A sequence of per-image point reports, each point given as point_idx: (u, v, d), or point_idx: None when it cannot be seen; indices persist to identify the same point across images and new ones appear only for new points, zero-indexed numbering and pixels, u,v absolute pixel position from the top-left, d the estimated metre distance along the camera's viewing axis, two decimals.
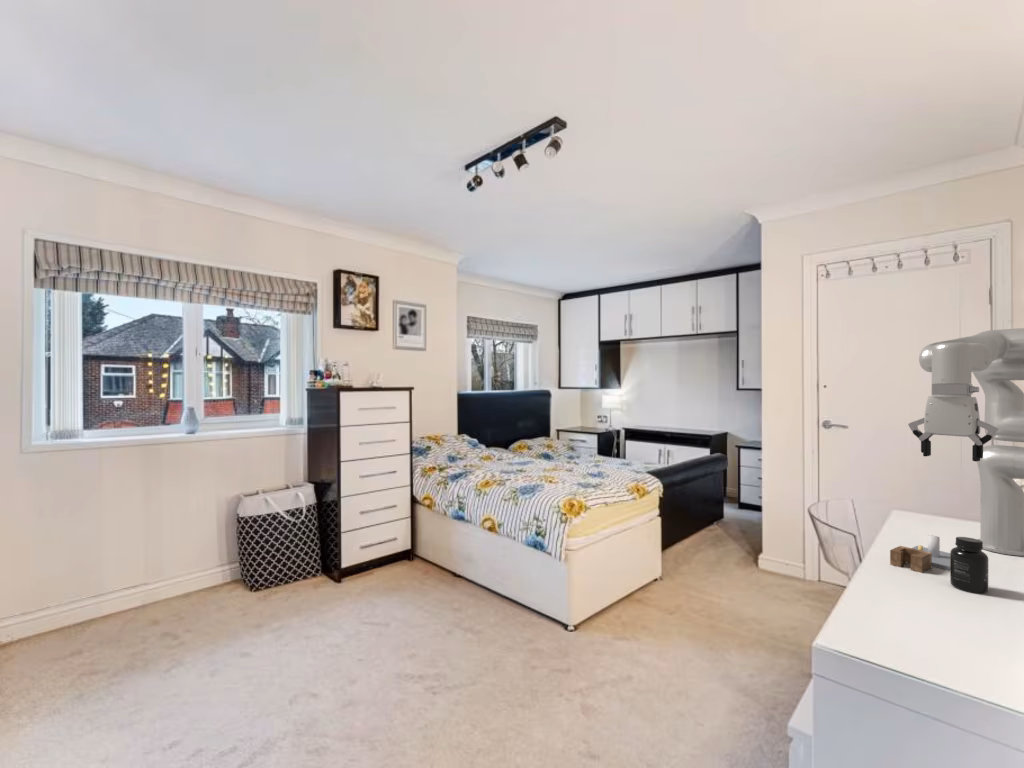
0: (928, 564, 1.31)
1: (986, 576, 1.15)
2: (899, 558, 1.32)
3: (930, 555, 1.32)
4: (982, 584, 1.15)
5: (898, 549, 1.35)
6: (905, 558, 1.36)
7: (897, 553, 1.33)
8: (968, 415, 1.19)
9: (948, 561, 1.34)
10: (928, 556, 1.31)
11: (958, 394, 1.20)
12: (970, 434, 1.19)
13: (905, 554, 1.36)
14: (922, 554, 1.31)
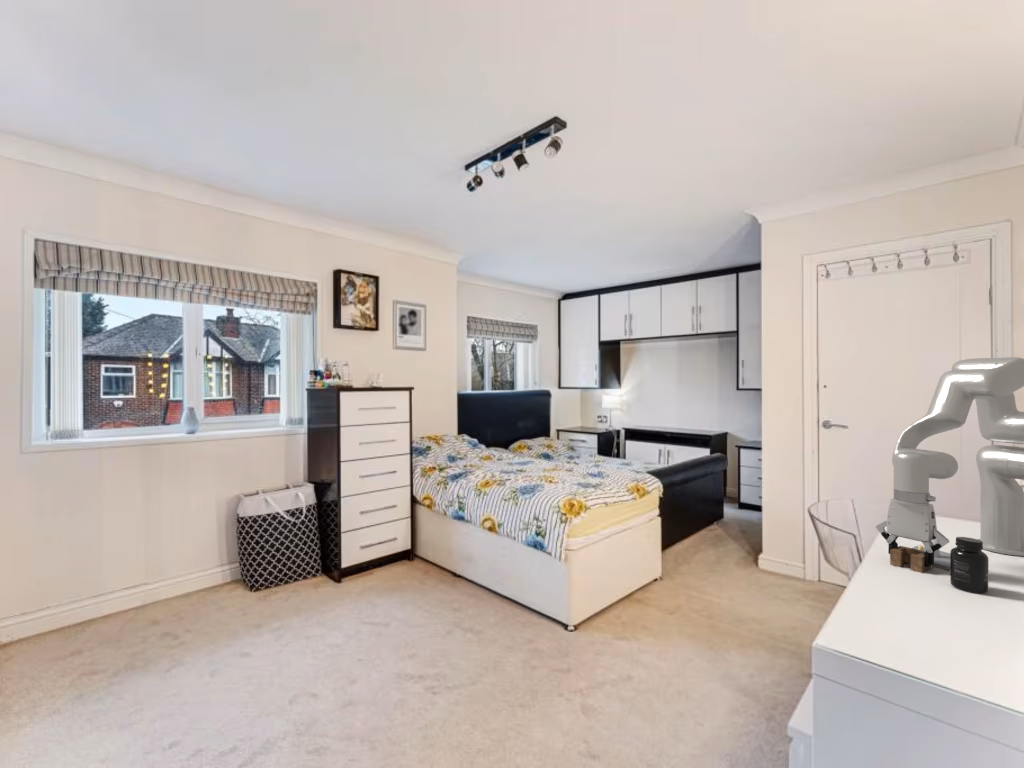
0: None
1: (986, 576, 1.15)
2: (899, 558, 1.32)
3: None
4: (982, 584, 1.15)
5: (898, 549, 1.35)
6: (905, 558, 1.36)
7: (897, 553, 1.33)
8: (925, 523, 1.29)
9: (948, 561, 1.34)
10: None
11: (916, 502, 1.30)
12: (927, 540, 1.29)
13: (905, 554, 1.36)
14: (922, 554, 1.31)
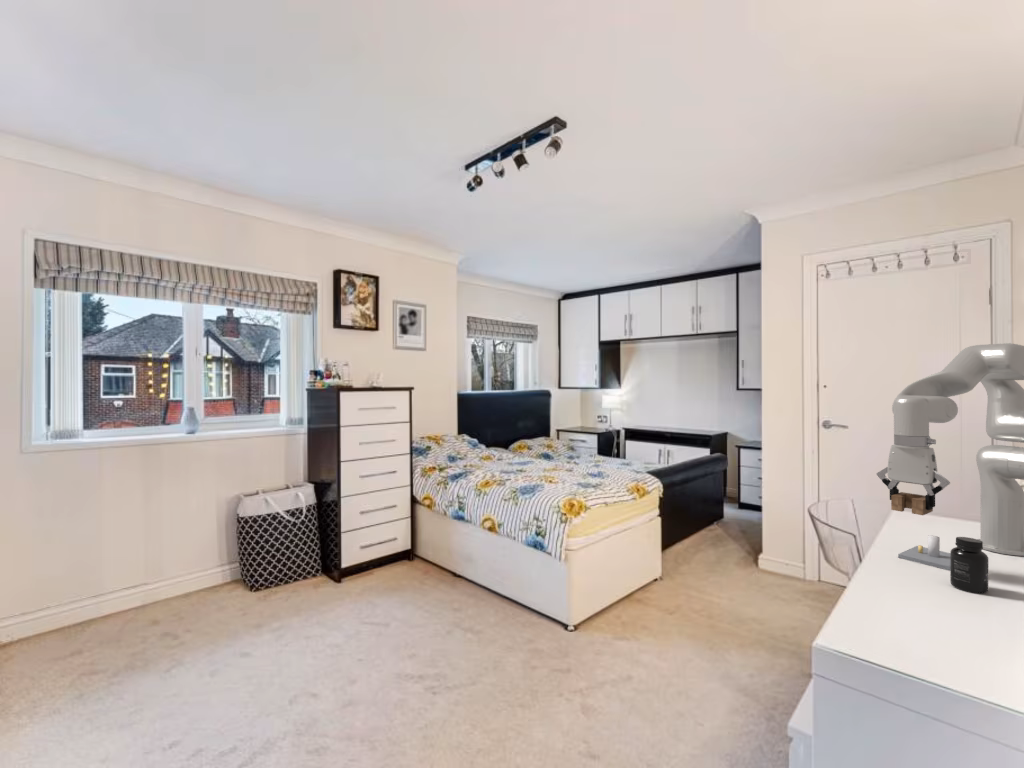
0: None
1: (986, 576, 1.15)
2: (900, 503, 1.33)
3: None
4: (982, 584, 1.15)
5: (899, 494, 1.35)
6: (906, 504, 1.36)
7: (898, 498, 1.33)
8: (926, 465, 1.29)
9: (948, 561, 1.34)
10: None
11: (917, 446, 1.30)
12: (928, 483, 1.29)
13: (906, 500, 1.36)
14: (923, 498, 1.31)
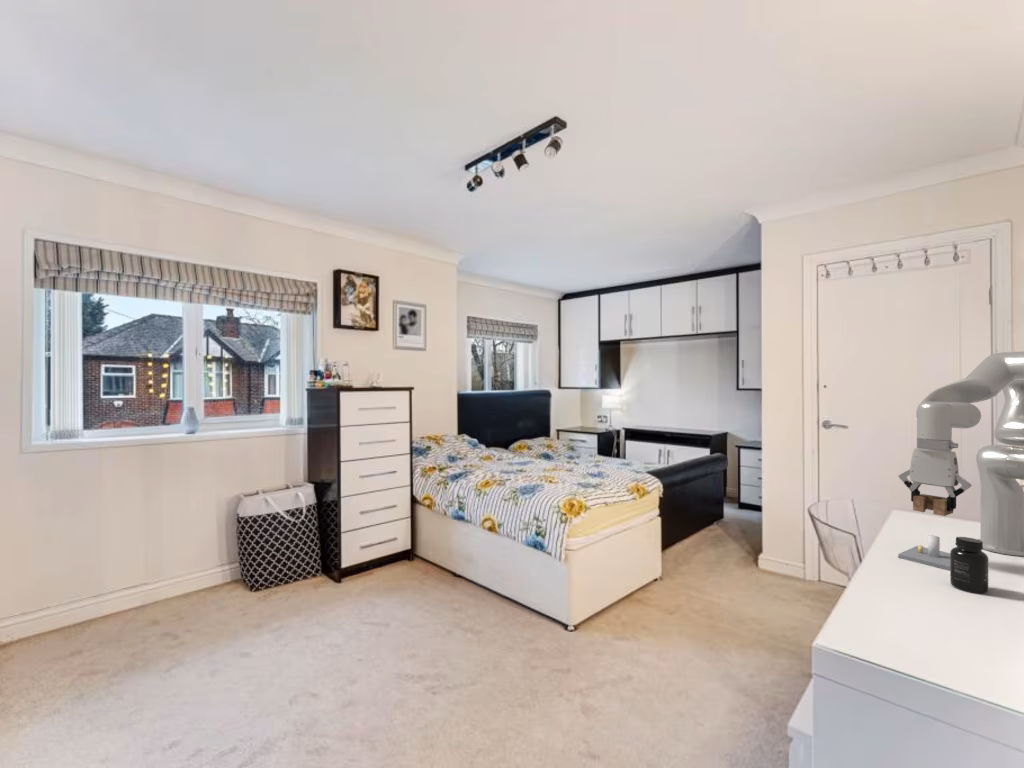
0: None
1: (986, 576, 1.15)
2: (922, 503, 1.38)
3: None
4: (982, 584, 1.15)
5: (921, 496, 1.40)
6: (927, 505, 1.41)
7: (919, 499, 1.38)
8: (948, 468, 1.34)
9: (948, 561, 1.34)
10: None
11: (939, 449, 1.35)
12: (950, 485, 1.34)
13: (927, 501, 1.41)
14: (944, 499, 1.36)
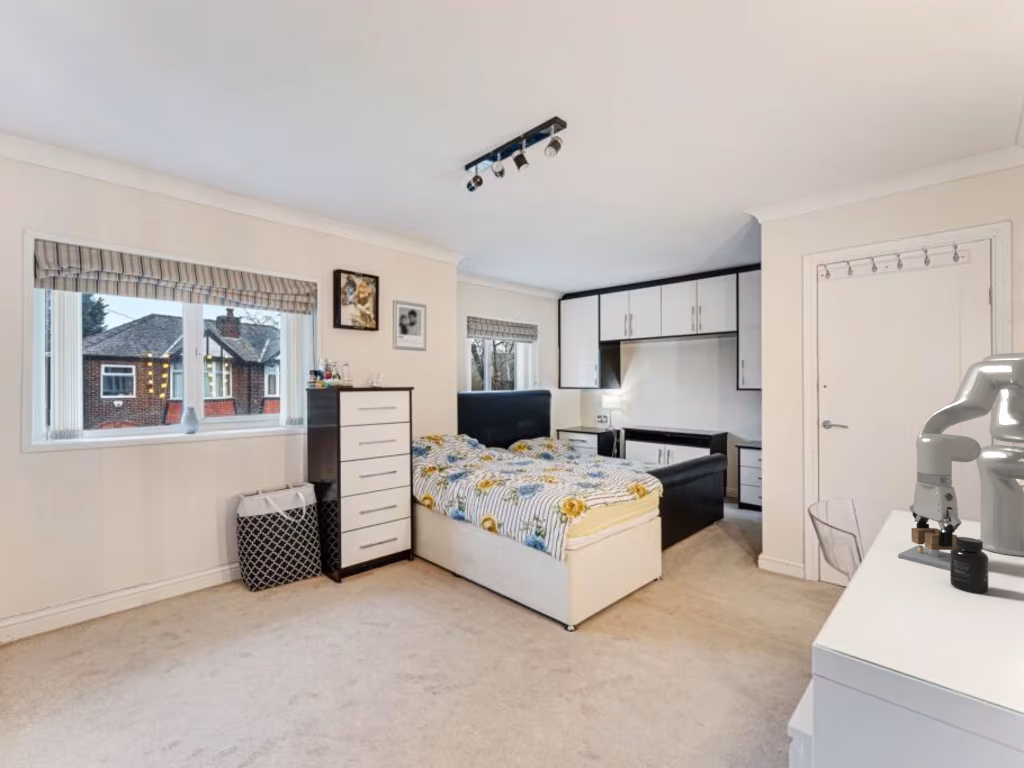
0: None
1: (986, 576, 1.15)
2: (917, 536, 1.40)
3: (953, 537, 1.35)
4: (982, 584, 1.15)
5: (923, 529, 1.41)
6: None
7: (916, 531, 1.41)
8: (938, 503, 1.35)
9: (948, 561, 1.34)
10: None
11: (929, 483, 1.36)
12: (939, 520, 1.34)
13: None
14: None
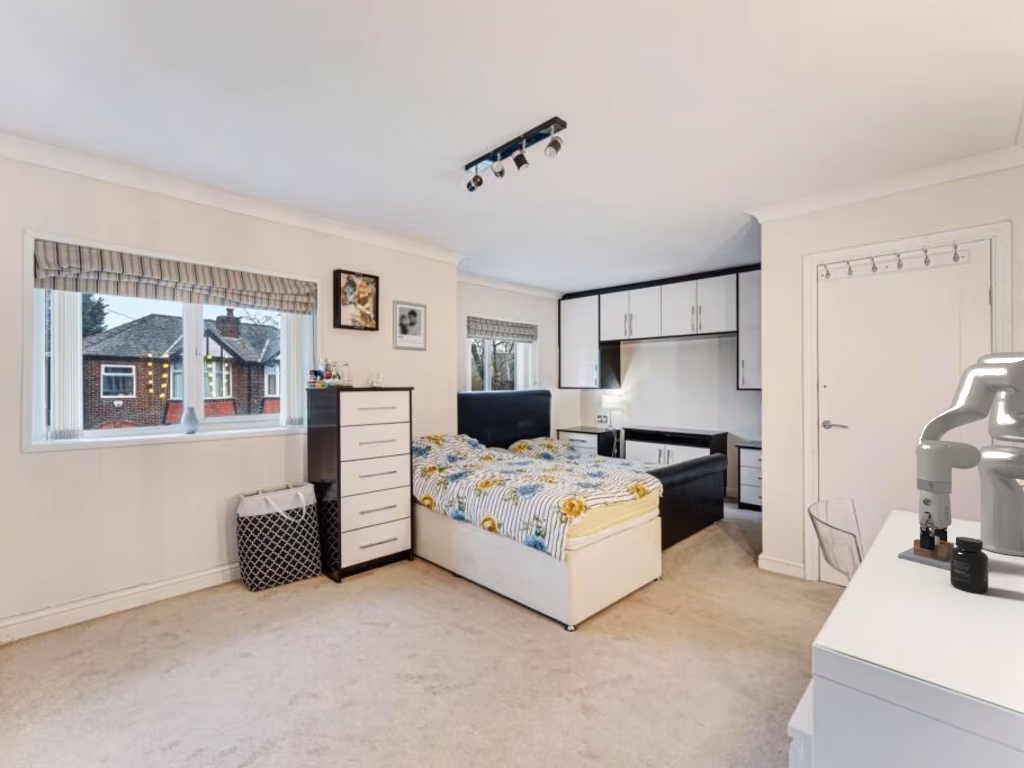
0: (934, 554, 1.36)
1: (986, 576, 1.15)
2: None
3: (939, 548, 1.35)
4: (982, 584, 1.15)
5: None
6: None
7: None
8: (919, 507, 1.38)
9: (948, 561, 1.34)
10: (935, 547, 1.35)
11: (917, 487, 1.40)
12: (919, 523, 1.38)
13: None
14: None
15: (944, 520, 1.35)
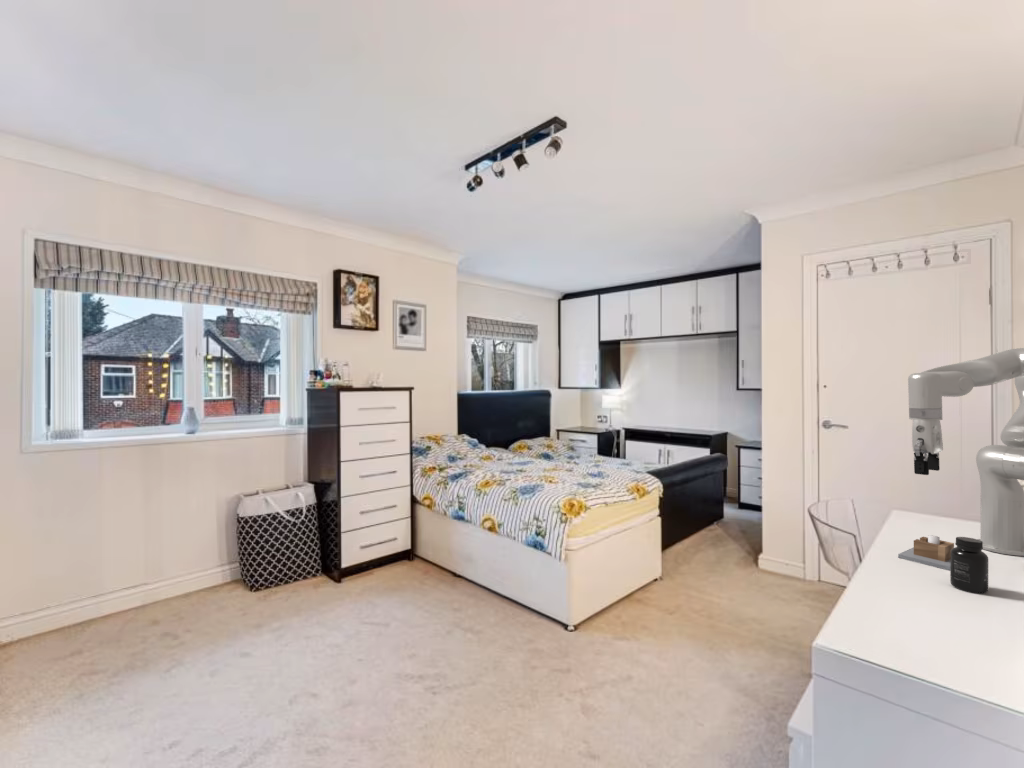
0: (934, 554, 1.36)
1: (986, 576, 1.15)
2: None
3: (939, 548, 1.35)
4: (982, 584, 1.15)
5: None
6: None
7: None
8: None
9: (948, 561, 1.34)
10: (935, 547, 1.35)
11: (910, 417, 1.44)
12: (913, 450, 1.42)
13: None
14: (927, 542, 1.38)
15: (936, 445, 1.40)
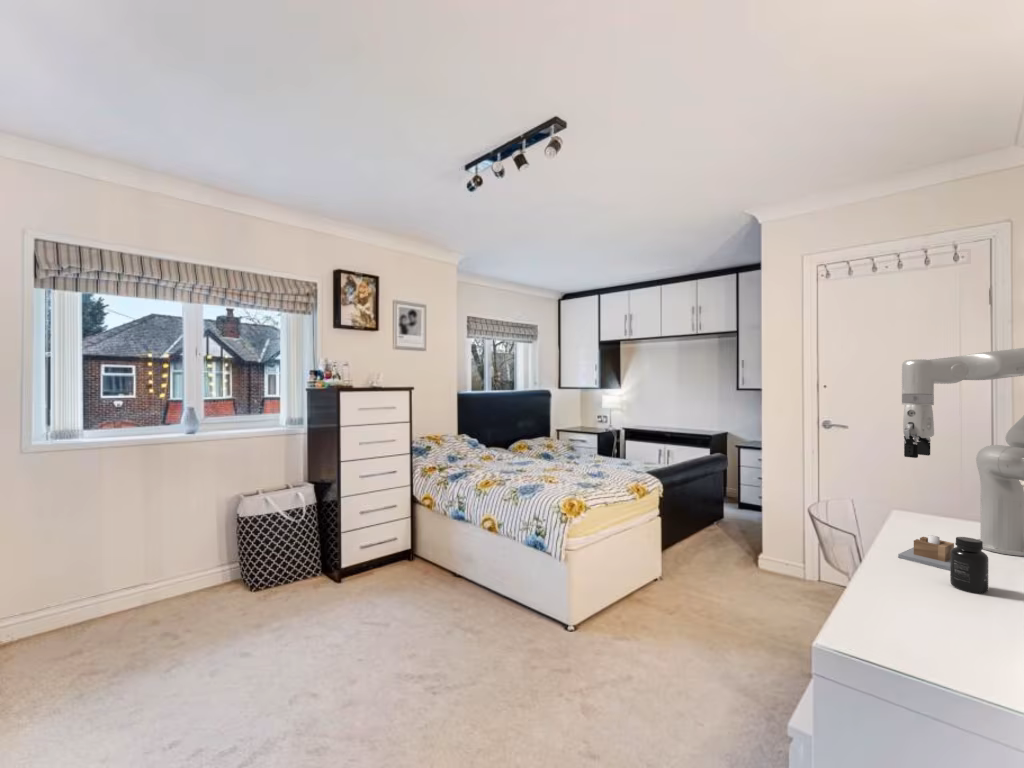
0: (934, 554, 1.36)
1: (986, 576, 1.15)
2: None
3: (939, 548, 1.35)
4: (982, 584, 1.15)
5: None
6: None
7: None
8: None
9: (948, 561, 1.34)
10: (935, 547, 1.35)
11: (902, 402, 1.49)
12: None
13: None
14: (927, 542, 1.38)
15: (927, 430, 1.44)
